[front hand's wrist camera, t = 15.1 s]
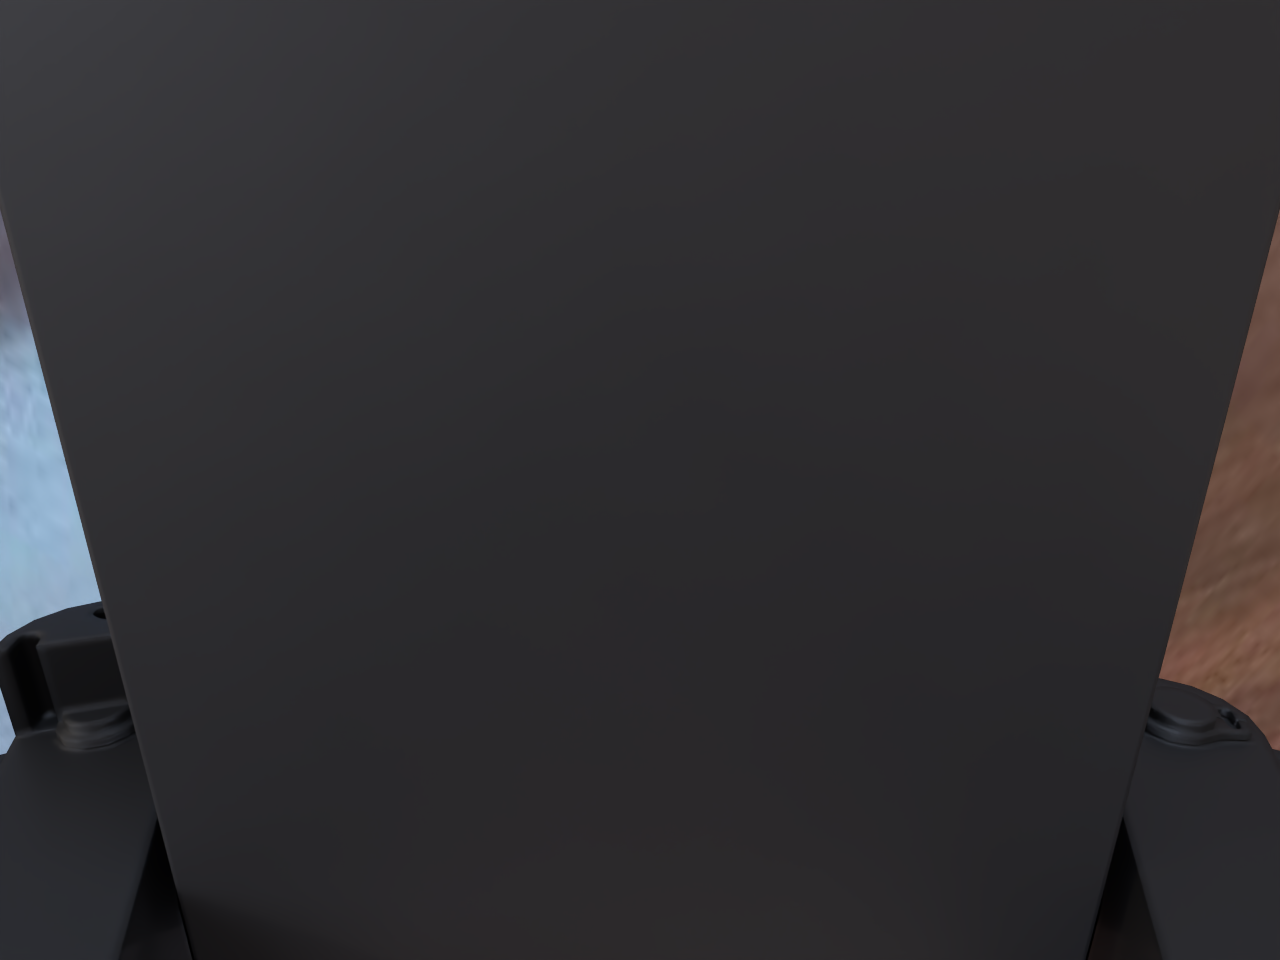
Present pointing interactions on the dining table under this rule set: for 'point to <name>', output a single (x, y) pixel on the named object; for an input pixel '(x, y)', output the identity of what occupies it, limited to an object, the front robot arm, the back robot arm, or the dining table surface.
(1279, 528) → the dining table surface
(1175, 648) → the dining table surface
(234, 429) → the box
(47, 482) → the dining table surface
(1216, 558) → the dining table surface
